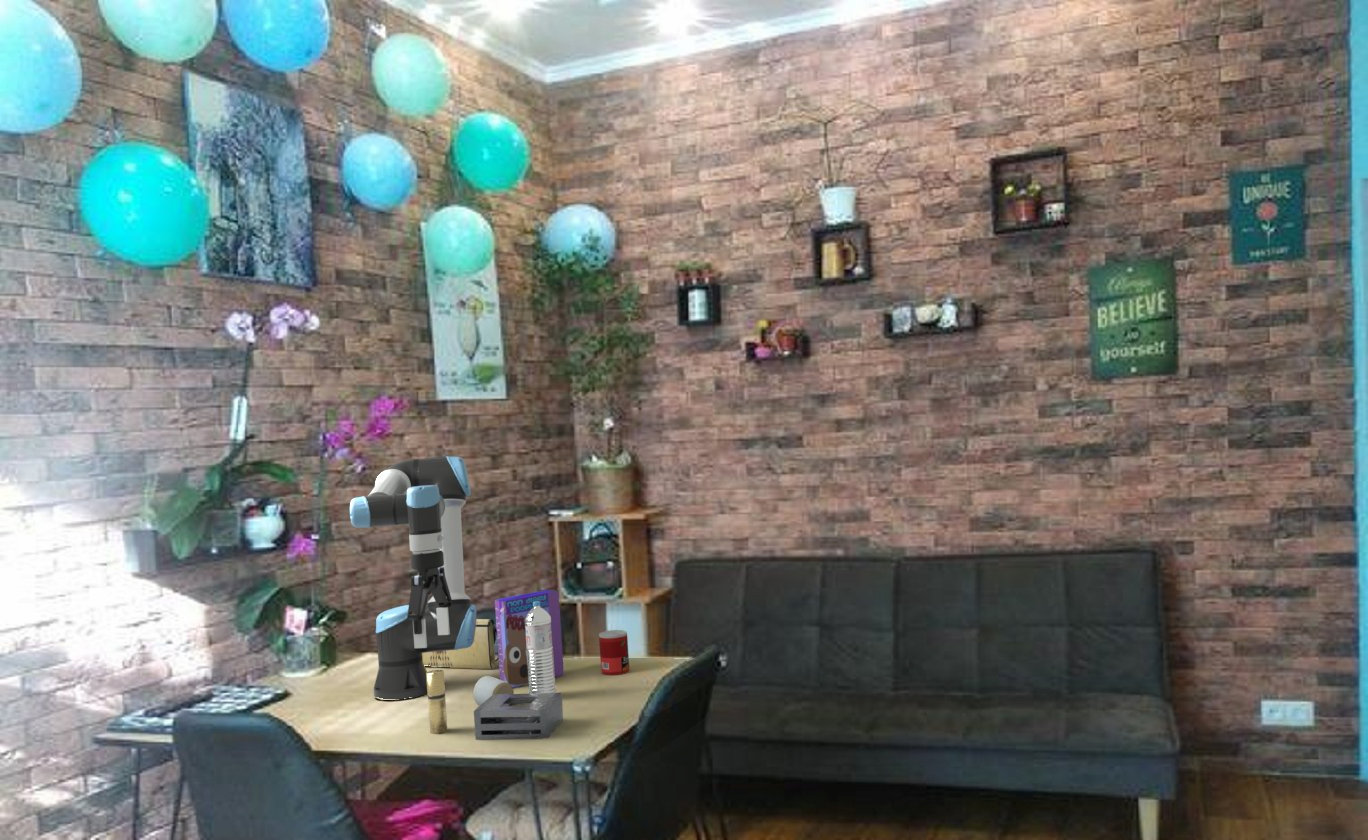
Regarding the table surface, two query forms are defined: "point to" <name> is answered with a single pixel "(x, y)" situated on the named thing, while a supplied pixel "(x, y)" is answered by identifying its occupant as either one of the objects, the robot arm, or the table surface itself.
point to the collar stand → (518, 716)
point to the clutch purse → (469, 650)
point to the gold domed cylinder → (436, 701)
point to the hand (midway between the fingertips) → (432, 641)
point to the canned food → (614, 652)
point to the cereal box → (524, 634)
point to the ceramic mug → (490, 689)
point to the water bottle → (539, 650)
